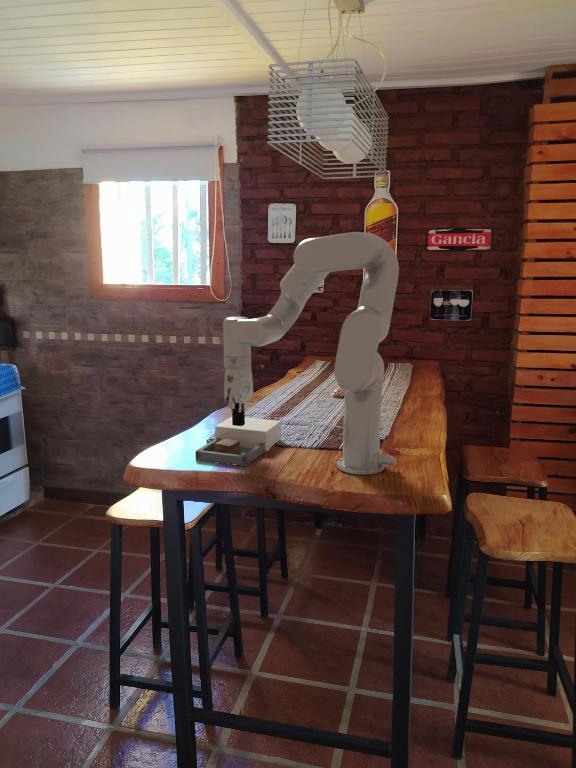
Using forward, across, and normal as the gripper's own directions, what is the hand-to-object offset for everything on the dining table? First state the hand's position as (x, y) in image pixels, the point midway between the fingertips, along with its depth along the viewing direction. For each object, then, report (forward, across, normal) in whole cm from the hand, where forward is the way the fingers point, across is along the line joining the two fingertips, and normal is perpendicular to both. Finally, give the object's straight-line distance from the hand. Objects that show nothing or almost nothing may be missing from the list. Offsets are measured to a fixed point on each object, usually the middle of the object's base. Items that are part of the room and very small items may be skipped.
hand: (238, 424), depth 171 cm
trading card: (+8, +24, -18) cm, 31 cm away
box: (+8, -5, 0) cm, 9 cm away
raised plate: (+8, +7, 0) cm, 10 cm away
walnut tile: (+4, -5, +1) cm, 6 cm away
